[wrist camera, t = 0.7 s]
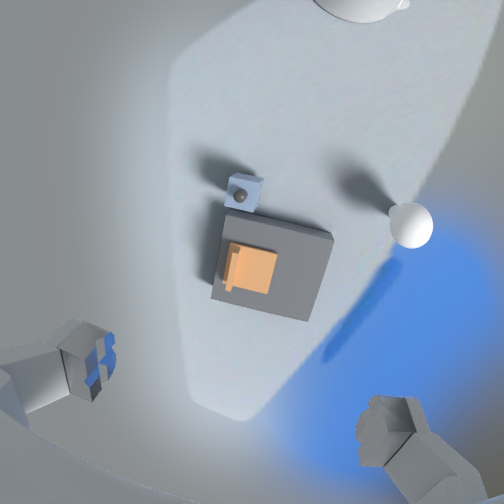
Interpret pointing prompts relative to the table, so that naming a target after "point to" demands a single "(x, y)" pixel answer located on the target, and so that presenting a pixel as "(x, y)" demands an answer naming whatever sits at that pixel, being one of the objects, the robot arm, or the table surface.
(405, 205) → the lightbulb
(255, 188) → the plug
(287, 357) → the table surface
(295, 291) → the socket block
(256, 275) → the panel
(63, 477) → the robot arm
